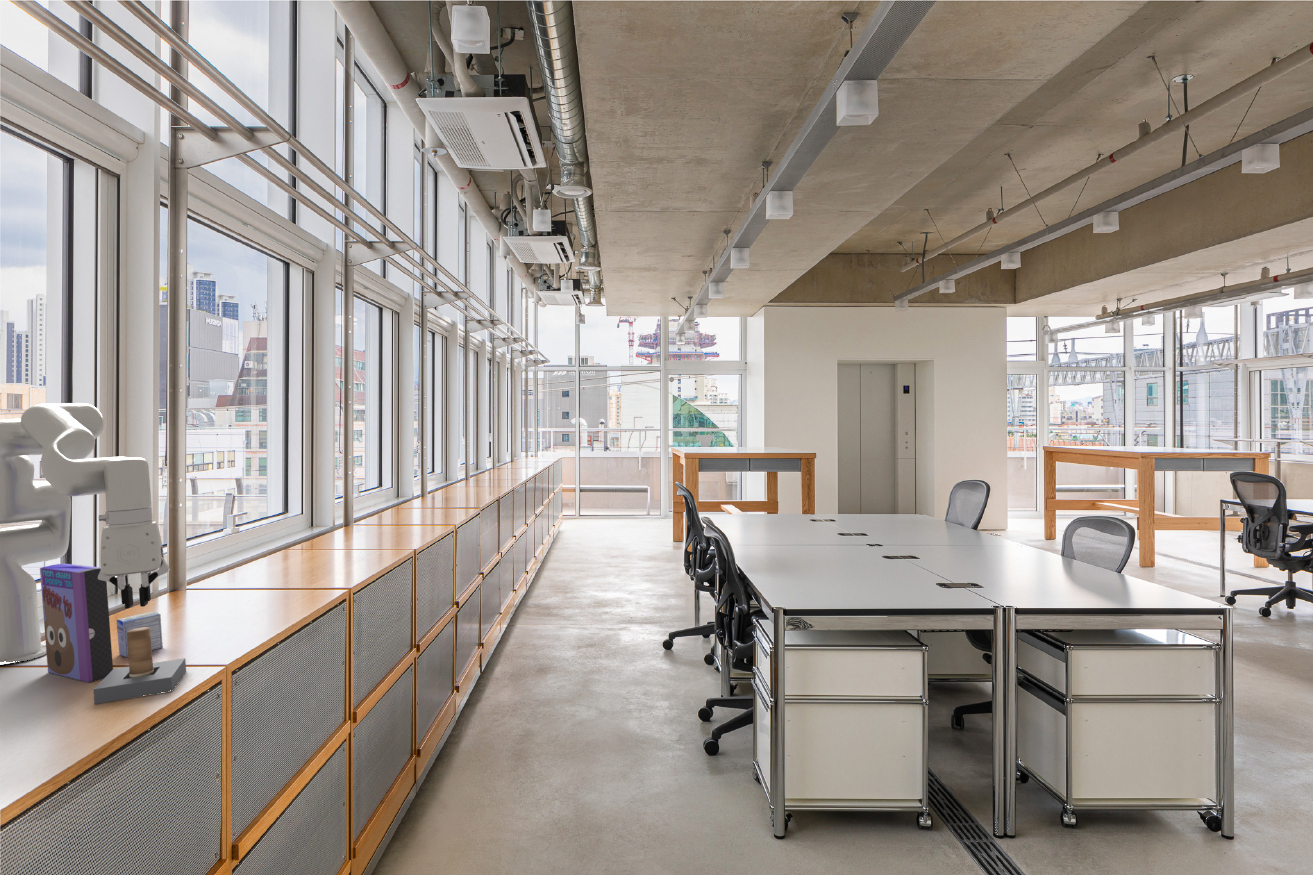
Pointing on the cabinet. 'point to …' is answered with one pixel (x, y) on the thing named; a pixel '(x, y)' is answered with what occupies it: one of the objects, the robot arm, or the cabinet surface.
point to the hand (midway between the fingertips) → (136, 605)
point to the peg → (140, 652)
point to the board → (139, 682)
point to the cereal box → (76, 622)
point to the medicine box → (139, 621)
